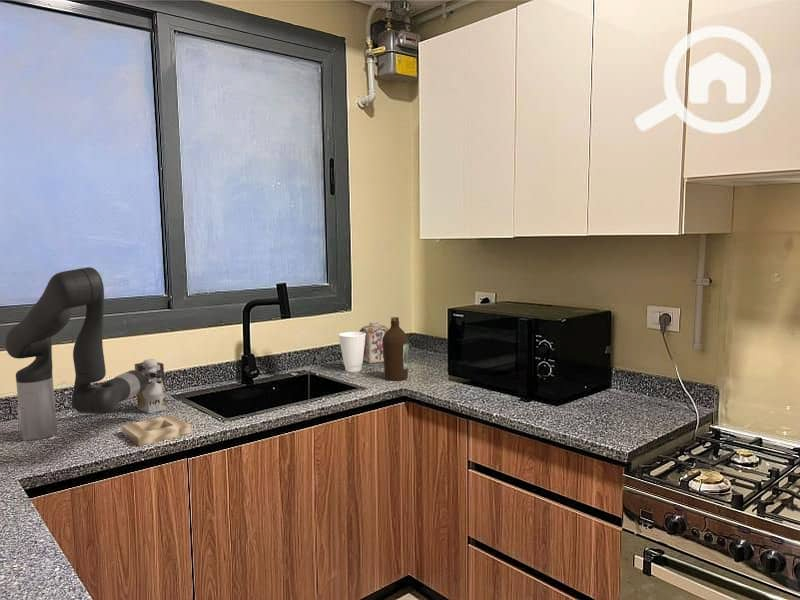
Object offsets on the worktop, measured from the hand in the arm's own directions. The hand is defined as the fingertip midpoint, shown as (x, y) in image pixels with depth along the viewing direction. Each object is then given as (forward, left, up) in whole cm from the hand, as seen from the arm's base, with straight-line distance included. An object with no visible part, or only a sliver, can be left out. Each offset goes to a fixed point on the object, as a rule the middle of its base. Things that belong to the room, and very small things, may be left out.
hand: (154, 373), depth 187 cm
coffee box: (+2, +11, -15) cm, 19 cm away
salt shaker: (-2, -2, -8) cm, 9 cm away
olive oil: (+89, -18, -15) cm, 92 cm away
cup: (+86, +7, -15) cm, 88 cm away
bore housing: (-6, -16, -15) cm, 23 cm away
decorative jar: (+106, +16, -15) cm, 108 cm away
